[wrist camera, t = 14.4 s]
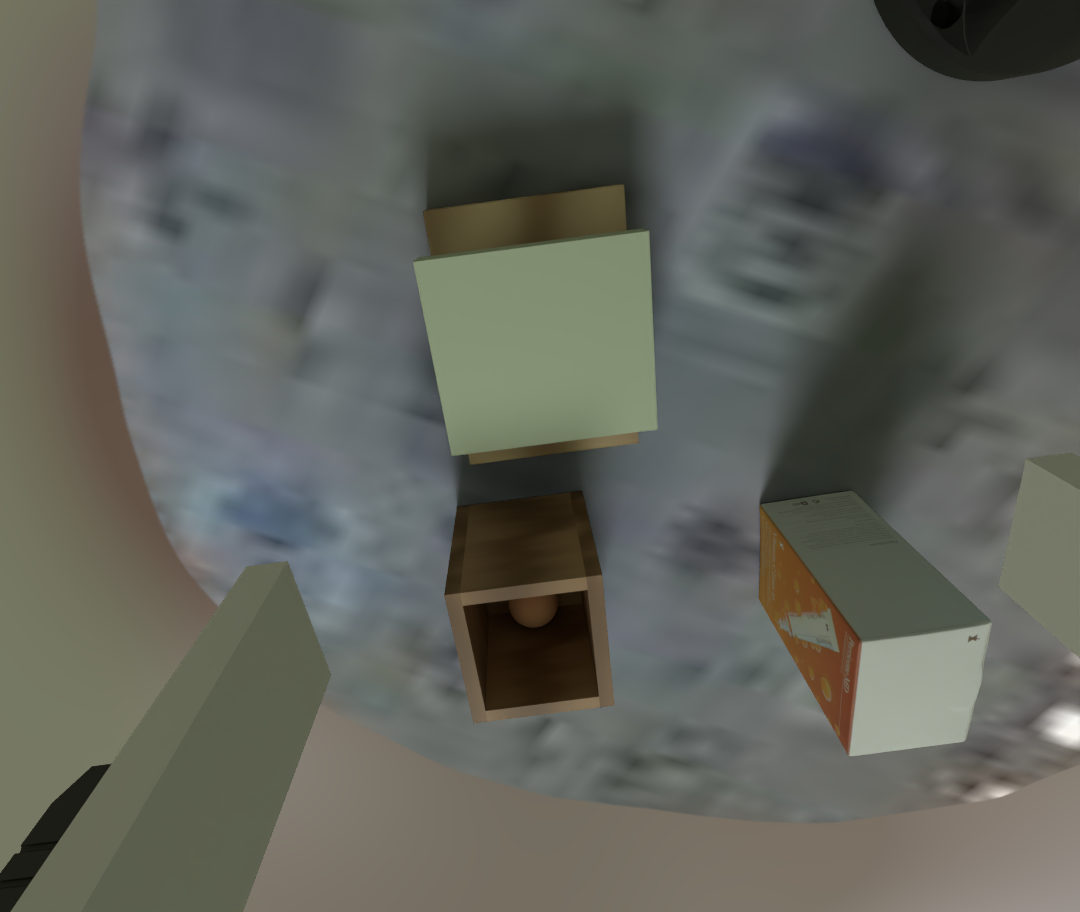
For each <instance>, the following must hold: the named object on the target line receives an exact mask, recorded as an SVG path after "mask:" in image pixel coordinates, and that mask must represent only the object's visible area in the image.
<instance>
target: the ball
mask: <svg viewBox="0 0 1080 912" xmlns="http://www.w3.org/2000/svg"><path fill="white" fill-rule="evenodd" d="M508 604H509V610H510V612H511V615H512V616H513V618H514V619H515V620H516V621H517V622H518V623H520V624H521V625H523V626H526V627H530V628H536V627H541V626H543V625H545V624H547V623H548V622H550V621H551V620H552V618H553V617H554V615H555V614H556V611H557V608H558V596H557V594H551V595H544V596H536V597H528V598H520V599H513V600H509V601H508Z"/></svg>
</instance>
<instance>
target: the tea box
mask: <svg viewBox="0 0 1080 912" xmlns="http://www.w3.org/2000/svg"><path fill="white" fill-rule="evenodd" d="M551 594H557V596H558V608H557V611H556V614H555V615H554V617H553V618H552V620H551V621H550V622H548V623H547V624H545V625H543V626H541V627H536V628H530V627H526V626H523V625H521V624H520V623H518V622H517V621H516V620H515V619H514V618H513V616H512V615H511V612H510V610H509V604H508V601H509V600H513V599H520V598H528V597H536V596H544V595H551ZM444 596H445V600H446V605H447V609H448V613H449V618H450V622H451V626H452V631H453V635H454V640H455V644H456V648H457V653H458V657H459V661H460V666H461V670H462V675H463V679H464V683H465V688H466V692H467V696H468V701H469V705H470V709H471V714H472V718H473V723H479V722H487V721H495V720H503V719H511V718H519V717H526V716H534V715H542V714H550V713H558V712H566V711H573V710H581V709H589V708H597V707H605V706H613V705H614V697H613V687H612V676H611V665H610V654H609V644H608V633H607V622H606V611H605V601H604V590H603V579H602V572H601V568H600V564H599V560H598V556H597V551H596V547H595V543H594V539H593V534H592V530H591V526H590V522H589V518H588V513H587V509H586V505H585V501H584V497H583V492H582V491H575V492H567V493H560V494H552V495H544V496H537V497H529V498H521V499H513V500H506V501H498V502H490V503H482V504H475V505H467V506H459V507H457V511H456V518H455V525H454V532H453V539H452V546H451V553H450V560H449V566H448V573H447V580H446V587H445V594H444Z"/></svg>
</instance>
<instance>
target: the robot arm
mask: <svg viewBox="0 0 1080 912" xmlns="http://www.w3.org/2000/svg"><path fill="white" fill-rule="evenodd" d="M874 2H875V5H876V7H877V10H878V12H879V14H880V16H881V18H882V20H883V22H884V23H885V25H886V27H887V28H888V30H889V31H890V33H891V34H892V36H893V37H894V38H895V40H896V41H897V42H898V43H899V44H900V46H901V47H902V48H903V49H904V50H905V51H906V52H907V53H908V54H910V55H911V56H912V57H913V58H915V59H916V60H917V61H918V62H920V63H921V64H923V65H924V66H926V67H928V68H930V69H932V70H934V71H936V72H938V73H941V74H943V75H946V76H949V77H953V78H957V79H962V80H969V81H995V80H1003V79H1008V78H1014V77H1019V76H1025V75H1030V74H1035V73H1040V72H1044V71H1048V70H1052V69H1055V68H1058V67H1061V66H1064V65H1066V64H1069V63H1071V62H1074V61H1076V60H1078V59H1080V0H874ZM999 588H1001V589H1002V590H1003V591H1004V592H1005V593H1006V594H1007V595H1008V596H1010V597H1011V598H1012V599H1013V600H1014V601H1015V602H1016V603H1018V604H1019V605H1020V606H1021V607H1022V608H1023V609H1024V610H1026V611H1027V612H1028V613H1029V614H1030V615H1031V616H1032V617H1033V618H1035V619H1036V620H1037V621H1038V622H1039V623H1040V624H1041V625H1043V626H1044V627H1045V628H1046V629H1047V630H1048V631H1049V632H1050V633H1052V634H1053V635H1054V636H1055V637H1056V638H1057V639H1058V640H1060V641H1061V642H1062V643H1063V644H1064V645H1065V646H1066V647H1068V648H1069V649H1070V650H1071V651H1072V652H1073V653H1074V654H1075V655H1077V656H1078V657H1079V658H1080V457H1079V456H1077V455H1075V454H1073V453H1065V454H1058V455H1051V456H1043V457H1036V458H1029V459H1026V462H1025V467H1024V471H1023V476H1022V481H1021V485H1020V490H1019V495H1018V499H1017V504H1016V509H1015V513H1014V518H1013V523H1012V527H1011V532H1010V537H1009V541H1008V546H1007V551H1006V555H1005V560H1004V565H1003V569H1002V574H1001V579H1000V583H999ZM330 676H331V673H330V670H329V668H328V665H327V663H326V660H325V657H324V655H323V652H322V650H321V647H320V644H319V642H318V639H317V637H316V634H315V631H314V629H313V626H312V624H311V621H310V618H309V616H308V613H307V611H306V608H305V605H304V603H303V600H302V597H301V595H300V592H299V590H298V587H297V584H296V582H295V579H294V577H293V574H292V571H291V569H290V566H289V564H288V561H285V562H278V563H270V564H263V565H256V566H249V567H246V568H245V569H244V571H243V572H242V574H241V575H240V577H239V578H238V580H237V581H236V583H235V584H234V586H233V587H232V589H231V590H230V591H229V593H228V594H227V596H226V597H225V599H224V600H223V602H222V603H221V605H220V606H219V608H218V609H217V610H216V612H215V613H214V615H213V616H212V618H211V619H210V621H209V622H208V624H207V625H206V627H205V628H204V630H203V631H202V633H201V634H200V635H199V637H198V638H197V640H196V641H195V643H194V644H193V646H192V647H191V649H190V650H189V651H188V653H187V654H186V656H185V657H184V659H183V660H182V662H181V663H180V665H179V666H178V668H177V669H176V670H175V672H174V673H173V675H172V676H171V678H170V679H169V681H168V682H167V684H166V685H165V687H164V688H163V690H162V691H161V692H160V694H159V695H158V697H157V698H156V700H155V701H154V703H153V704H152V706H151V707H150V709H149V710H148V711H147V713H146V714H145V716H144V717H143V719H142V720H141V722H140V723H139V725H138V726H137V727H136V729H135V730H134V732H133V733H132V735H131V736H130V738H129V739H128V741H127V742H126V744H125V745H124V746H123V748H122V749H121V751H120V752H119V754H118V756H117V757H116V758H115V760H114V761H113V763H112V764H107V765H99V766H92V767H91V768H90V769H89V770H88V771H87V772H85V773H84V774H83V775H82V776H81V777H80V778H79V779H78V780H77V781H76V782H75V783H73V784H72V785H71V786H70V787H69V788H68V789H67V790H66V791H65V792H64V793H63V794H61V795H60V796H59V797H58V798H57V799H56V800H55V801H54V802H53V803H52V804H51V805H50V807H49V808H48V809H47V811H46V812H45V813H44V815H43V816H42V817H41V819H40V820H39V821H38V823H37V824H36V825H35V827H34V828H33V830H32V831H31V832H30V834H29V835H28V836H27V838H26V839H25V841H24V842H23V843H22V845H21V847H22V848H21V851H20V853H18V854H14V855H13V857H12V858H11V860H10V861H9V862H8V864H7V865H6V866H5V868H4V869H3V870H2V872H1V873H0V912H243V910H244V907H245V904H246V902H247V899H248V897H249V894H250V891H251V889H252V886H253V883H254V881H255V878H256V875H257V873H258V870H259V867H260V864H261V862H262V859H263V856H264V854H265V851H266V848H267V846H268V843H269V840H270V837H271V835H272V832H273V829H274V827H275V824H276V821H277V819H278V816H279V813H280V811H281V808H282V805H283V802H284V800H285V797H286V795H287V792H288V789H289V787H290V784H291V781H292V779H293V776H294V773H295V770H296V768H297V765H298V762H299V760H300V757H301V754H302V752H303V749H304V746H305V743H306V741H307V738H308V736H309V733H310V730H311V727H312V725H313V722H314V719H315V717H316V714H317V711H318V708H319V706H320V703H321V701H322V698H323V695H324V693H325V690H326V687H327V684H328V682H329V679H330Z"/></svg>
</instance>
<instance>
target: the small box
mask: <svg viewBox="0 0 1080 912" xmlns="http://www.w3.org/2000/svg"><path fill="white" fill-rule="evenodd" d="M759 600H760V602H761V604H762V606H763V607H764V609H765V611H766V612H767V614H768V616H769V618H770V620H771V621H772V623H773V625H774V626H775V628H776V630H777V632H778V633H779V635H780V637H781V639H782V640H783V642H784V644H785V645H786V647H787V649H788V651H789V653H790V654H791V656H792V658H793V659H794V661H795V663H796V665H797V666H798V668H799V670H800V672H801V673H802V675H803V677H804V679H805V680H806V682H807V684H808V686H809V687H810V689H811V691H812V692H813V694H814V696H815V698H816V699H817V701H818V703H819V705H820V706H821V708H822V710H823V712H824V714H825V715H826V717H827V719H828V720H829V722H830V724H831V726H832V727H833V729H834V731H835V732H836V734H837V736H838V738H839V740H840V741H841V743H842V745H843V747H844V748H845V750H846V752H847V754H848V756H857V755H864V754H872V753H879V752H887V751H895V750H903V749H911V748H918V747H926V746H934V745H941V744H949V743H957V742H964V741H965V740H966V737H967V733H968V730H969V725H970V721H971V717H972V713H973V709H974V704H975V701H976V698H977V695H978V692H979V689H980V685H981V681H982V674H983V665H984V659H985V654H986V649H987V645H988V639H989V634H990V630H991V626H992V622H991V620H990V619H989V618H988V617H987V616H986V615H984V614H983V613H982V612H981V611H980V610H979V609H978V608H977V607H976V606H975V605H974V604H973V603H972V602H971V601H970V600H969V599H967V598H966V597H965V596H964V595H963V594H962V593H961V592H960V591H959V590H958V589H957V588H956V587H955V586H954V585H953V584H951V583H950V582H949V581H948V580H947V579H946V578H945V577H944V576H943V575H942V574H941V573H940V572H939V571H938V570H937V569H935V568H934V567H933V566H932V565H931V564H930V563H929V562H928V561H927V560H926V559H925V558H924V557H923V556H922V555H921V554H920V553H919V552H917V551H916V550H915V549H914V548H913V547H912V546H911V545H910V544H909V543H908V542H907V541H906V540H905V539H904V538H903V537H901V536H900V535H899V534H898V533H897V532H896V531H895V530H894V529H893V528H892V527H891V526H890V525H889V524H888V523H887V522H886V521H884V520H883V519H882V518H881V517H880V516H879V515H878V514H877V513H876V512H875V511H874V510H873V509H872V508H871V507H870V506H869V505H868V504H867V503H865V502H864V501H863V500H862V499H861V498H860V497H859V496H858V495H857V494H856V493H855V492H854V491H846V492H838V493H832V494H825V495H818V496H811V497H805V498H798V499H791V500H785V501H779V502H772V503H765V504H761V505H760V583H759Z"/></svg>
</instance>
